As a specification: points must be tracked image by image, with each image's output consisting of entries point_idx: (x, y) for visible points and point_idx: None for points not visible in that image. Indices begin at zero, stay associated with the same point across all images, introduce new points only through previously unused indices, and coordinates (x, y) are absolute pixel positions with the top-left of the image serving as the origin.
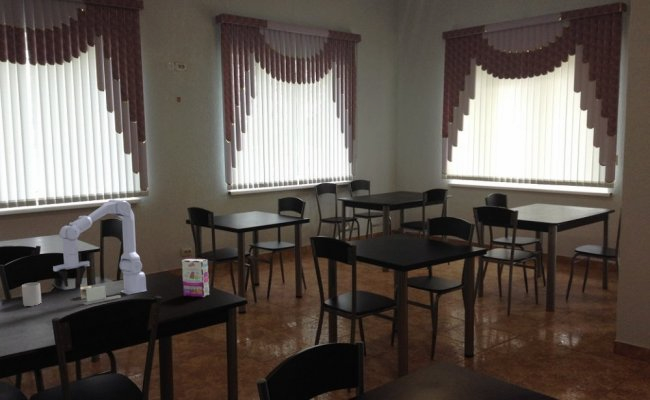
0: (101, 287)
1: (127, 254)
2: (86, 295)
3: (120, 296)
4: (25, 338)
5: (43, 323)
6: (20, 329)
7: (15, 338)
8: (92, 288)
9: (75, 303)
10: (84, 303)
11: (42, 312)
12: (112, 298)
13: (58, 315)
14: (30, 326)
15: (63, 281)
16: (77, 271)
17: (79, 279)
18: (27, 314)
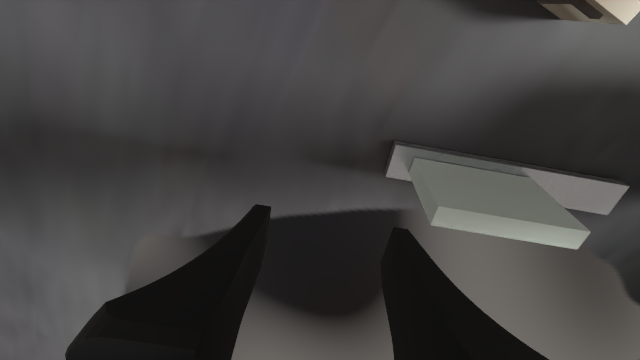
0: (545, 240)
1: None
2: (423, 181)
3: (602, 213)
4: (39, 348)
5: (112, 271)
6: (19, 268)
7: (7, 330)
8: (476, 231)
9: (377, 79)
10: (388, 165)
11: (139, 100)
12: None
13: (196, 225)
14: (58, 266)
15: (233, 228)
16: (440, 339)
17: (391, 295)
18: (48, 59)
